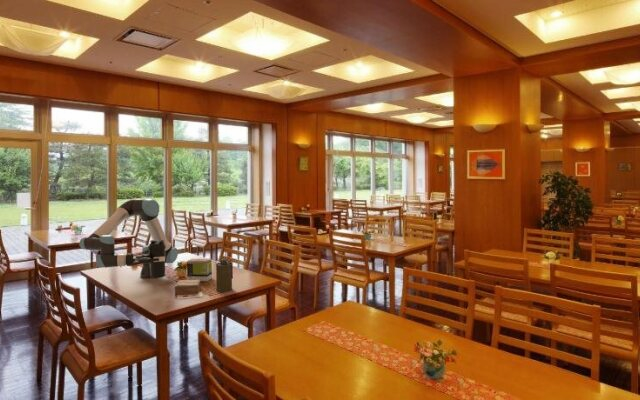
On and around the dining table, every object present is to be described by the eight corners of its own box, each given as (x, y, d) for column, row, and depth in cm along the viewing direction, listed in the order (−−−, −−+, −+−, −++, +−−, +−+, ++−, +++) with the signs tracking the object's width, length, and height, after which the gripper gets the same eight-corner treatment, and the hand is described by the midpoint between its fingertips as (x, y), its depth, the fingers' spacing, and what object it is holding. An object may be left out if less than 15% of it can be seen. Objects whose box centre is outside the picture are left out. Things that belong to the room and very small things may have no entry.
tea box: (212, 278, 291) (212, 258, 290) (207, 281, 281) (206, 261, 280) (192, 277, 292) (192, 257, 291) (186, 281, 282) (186, 260, 281)
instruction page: (177, 294, 252) (177, 293, 252) (201, 292, 257) (201, 291, 257) (176, 299, 243) (176, 298, 243) (202, 296, 248) (202, 296, 248)
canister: (219, 293, 255) (219, 262, 254) (213, 289, 264) (213, 259, 262) (235, 290, 262) (235, 260, 260) (229, 286, 270) (228, 257, 268)
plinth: (178, 289, 263) (178, 280, 263) (200, 288, 266) (200, 279, 265) (175, 295, 249) (174, 286, 249) (198, 294, 252) (197, 284, 251)
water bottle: (152, 274, 255) (151, 239, 253) (168, 274, 256) (167, 238, 254) (146, 278, 245) (145, 241, 243) (163, 278, 246) (162, 241, 244)
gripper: (127, 262, 254) (165, 259, 261) (123, 270, 233) (164, 266, 241) (127, 250, 253) (165, 248, 261) (123, 257, 233) (164, 254, 240)
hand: (165, 257), depth 251 cm, fingers closed on water bottle, 9 cm apart
